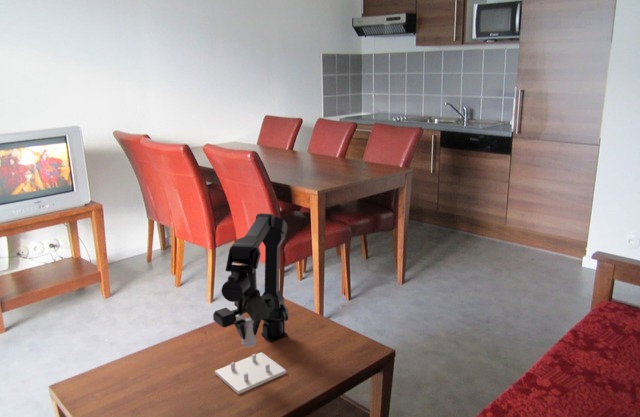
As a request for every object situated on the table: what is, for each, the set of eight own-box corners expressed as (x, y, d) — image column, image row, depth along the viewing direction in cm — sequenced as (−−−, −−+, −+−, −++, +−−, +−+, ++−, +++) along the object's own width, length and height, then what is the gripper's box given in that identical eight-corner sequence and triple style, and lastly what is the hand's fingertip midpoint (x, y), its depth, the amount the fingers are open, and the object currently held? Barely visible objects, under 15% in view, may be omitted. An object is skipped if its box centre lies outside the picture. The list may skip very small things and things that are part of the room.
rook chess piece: (238, 344, 154) (236, 318, 152) (249, 338, 158) (248, 313, 155) (248, 349, 151) (247, 323, 149) (260, 343, 155) (259, 318, 152)
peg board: (261, 355, 167) (261, 346, 166) (286, 373, 157) (285, 364, 156) (215, 373, 157) (214, 364, 156) (238, 394, 147) (237, 384, 146)
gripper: (231, 305, 138) (234, 360, 142) (290, 286, 149) (292, 337, 154) (210, 291, 146) (214, 343, 151) (268, 274, 158) (270, 322, 162)
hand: (248, 336), depth 154 cm, fingers closed on rook chess piece, 3 cm apart
